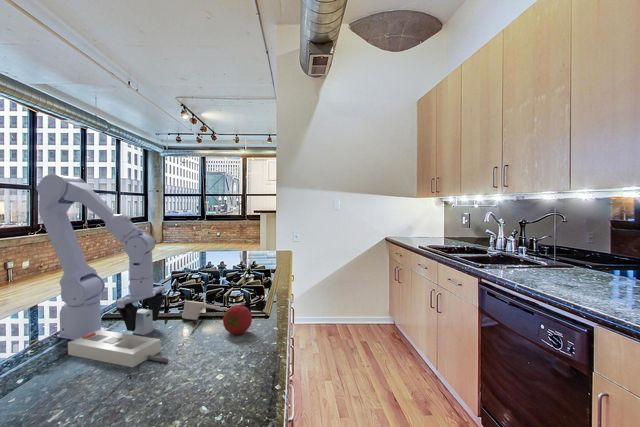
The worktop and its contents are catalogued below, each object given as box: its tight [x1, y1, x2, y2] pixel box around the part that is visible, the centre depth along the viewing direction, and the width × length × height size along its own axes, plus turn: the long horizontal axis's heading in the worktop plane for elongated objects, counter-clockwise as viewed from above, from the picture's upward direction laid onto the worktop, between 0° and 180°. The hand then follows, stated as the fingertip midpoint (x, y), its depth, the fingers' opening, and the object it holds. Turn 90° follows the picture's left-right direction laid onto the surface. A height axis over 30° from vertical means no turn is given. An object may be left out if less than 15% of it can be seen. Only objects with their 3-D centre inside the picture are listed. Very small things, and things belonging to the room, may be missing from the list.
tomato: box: [222, 304, 253, 336], centre depth 90 cm, size 8×8×8 cm
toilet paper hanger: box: [181, 300, 229, 320], centre depth 106 cm, size 20×5×16 cm
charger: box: [132, 308, 154, 336], centre depth 91 cm, size 4×3×6 cm
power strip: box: [67, 330, 170, 368], centre depth 78 cm, size 26×8×4 cm, turn 72°
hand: (142, 325), depth 91 cm, fingers open, 7 cm apart
